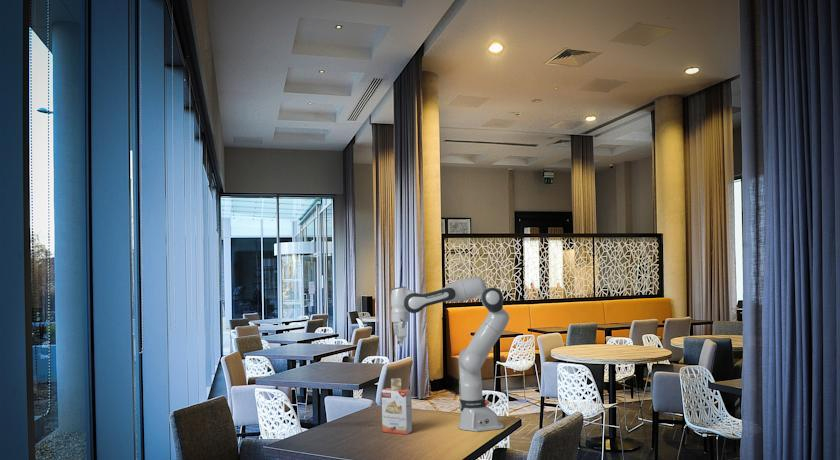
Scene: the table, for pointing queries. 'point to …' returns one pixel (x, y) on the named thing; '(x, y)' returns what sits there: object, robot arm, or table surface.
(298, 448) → the table surface
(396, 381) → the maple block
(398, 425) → the cracker box
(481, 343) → the robot arm
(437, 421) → the table surface
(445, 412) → the table surface
